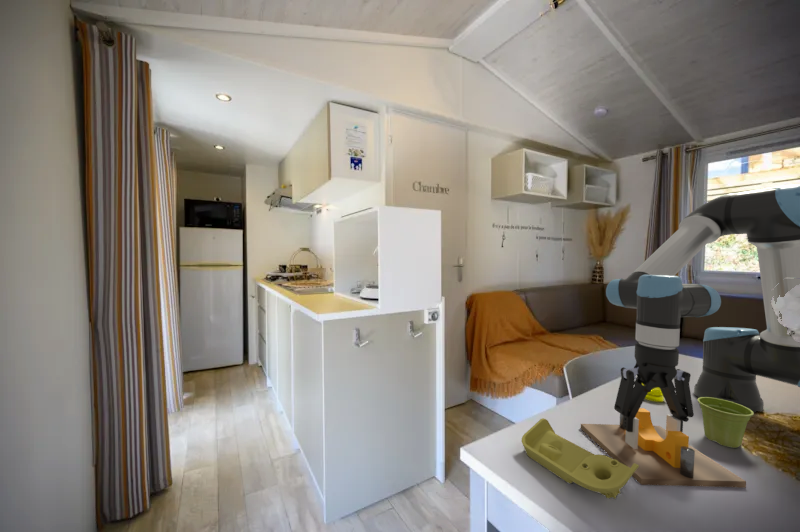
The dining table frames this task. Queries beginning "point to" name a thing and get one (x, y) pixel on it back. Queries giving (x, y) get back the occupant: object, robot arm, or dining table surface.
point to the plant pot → (724, 420)
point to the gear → (655, 395)
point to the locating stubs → (685, 458)
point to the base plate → (659, 461)
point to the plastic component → (575, 461)
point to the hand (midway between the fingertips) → (651, 445)
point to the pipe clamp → (660, 439)
